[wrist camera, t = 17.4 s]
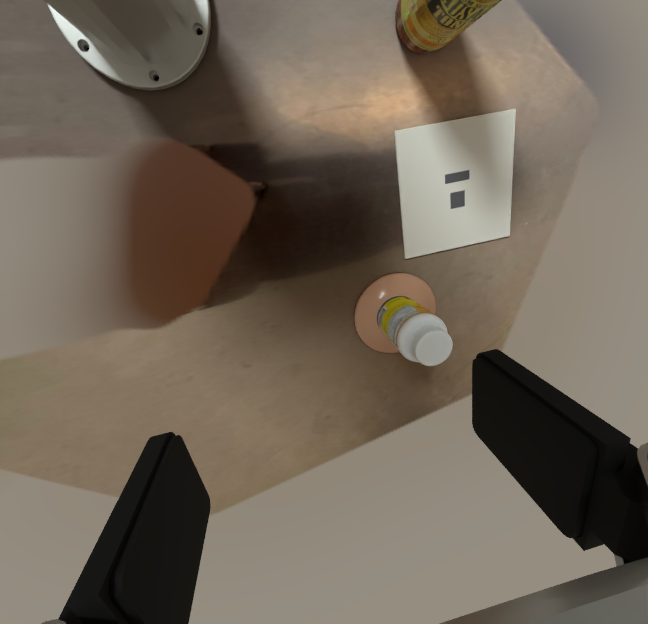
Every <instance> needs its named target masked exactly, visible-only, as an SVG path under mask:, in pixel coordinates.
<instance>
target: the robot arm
mask: <svg viewBox="0 0 648 624" xmlns="http://www.w3.org/2000/svg"><path fill="white" fill-rule="evenodd" d="M44 1H45V2H46V3H47V5H48V8H49V10H50V12H51V14H52V16H53V18H54V20H55V22H56V24H57V26H58V28H59V29H60V31H61V32H62V34H63V35H64V37H65V38H66V40H67V41H68V42H69V44H70V45H71V46H72V47H73V48H74V49H75V50H76V51H77V53H78V54H79V55H80V56H81V57H82V58H83V59H84V60H86V61H87V62H88V63H89V64H90V65H91V66H93V67H94V68H95V69H96V70H98V71H99V72H101V73H102V74H103V75H105V76H106V77H108V78H110V79H112V80H114V81H116V82H118V83H120V84H122V85H125V86H128V87H131V88H134V89H140V90H149V91H152V90H162V89H166V88H169V87H172V86H175V85H177V84H179V83H180V82H182V81H184V80H185V79H187V78H188V77H189V76H190V75H191V74H192V73H193V72H194V71H195V70H196V68H197V67H198V65H199V64H200V62H201V60H202V59H203V57H204V54H205V51H206V49H207V46H208V43H209V37H210V30H211V8H210V2H209V0H44ZM198 31H202V32H203V34H202V35H197V33H198ZM87 47H89V51H86V49H87ZM156 76H158V77H159V81H157V82H156V81H155V77H156ZM472 424H473V428H474V431H475V433H476V434H477V435H478V437H479V438H480V439H481V440H482V441H483V442H484V444H485V445H486V446H487V447H488V448H489V449H490V451H491V452H492V453H493V454H494V455H495V456H496V457H497V459H498V460H499V461H500V462H501V463H502V464H503V466H505V468H506V469H507V470H508V471H509V472H510V473H511V475H512V476H513V477H514V478H515V479H516V480H517V482H518V483H519V484H520V485H521V486H522V487H523V488H524V490H525V491H526V492H527V493H528V494H529V495H530V497H531V498H532V499H533V500H534V501H535V502H536V504H537V505H538V506H539V507H540V508H541V509H542V510H543V512H544V513H545V514H546V515H547V516H548V517H549V519H550V520H551V521H552V522H553V523H554V524H555V525H556V526H557V528H558V529H559V530H560V531H561V532H562V533H563V534H564V535H565V536H567V537H569V538H573V539H574V540H575V541H576V542H577V543H578V545H579V546H580V547H581V548H582V549H583V550H584V551H585V550H588V549H591V548H594V547H597V546H600V545H603V544H605V545H606V546H607V547H608V548H609V549H610V550H611V551H612V552H613V553H614V556H615V561H616V566H617V567H614V568H610V569H607V570H604V571H600V572H597V573H594V574H591V575H587V576H584V577H581V578H578V579H575V580H572V581H569V582H566V583H562V584H560V585H556V586H553V587H550V588H547V589H544V590H541V591H538V592H535V593H532V594H529V595H526V596H523V597H519V598H517V599H514V600H510V601H507V602H504V603H501V604H498V605H495V606H492V607H489V608H486V609H483V610H480V611H477V612H474V613H471V614H468V615H464V616H461V617H458V618H455V619H452V620H449V621H446V622H444V623H440V624H648V443H646V444H643V445H641V446H640V448H639V449H638V448H636V447H635V446H633V445H632V444H630V438H629V437H628V436H626V435H625V434H623V433H622V432H620V431H619V430H617V429H616V428H614V427H613V426H611V425H610V424H608V423H607V422H605V421H604V420H602V419H601V418H599V417H598V416H596V415H595V414H593V413H592V412H590V411H589V410H587V409H586V408H584V407H583V406H581V405H580V404H578V403H577V402H575V401H574V400H572V399H571V398H570V397H568V396H567V395H565V394H563V393H562V392H561V391H559V390H558V389H556V388H555V387H553V386H552V385H550V384H549V383H547V382H546V381H544V380H543V379H541V378H539V377H538V376H537V375H535V374H534V373H532V372H531V371H529V370H528V369H526V368H525V367H523V366H522V365H520V364H519V363H517V362H516V361H514V360H513V359H511V358H510V357H508V356H507V355H505V354H504V353H503V352H501V351H499V350H497V349H494V350H490V351H486V352H482V353H479V354H477V356H476V359H474V360H473V363H472ZM209 513H210V498H209V495H208V493H207V491H206V489H205V487H204V484H203V482H202V480H201V478H200V476H199V474H198V471H197V469H196V467H195V465H194V463H193V461H192V458H191V456H190V454H189V452H188V450H187V448H186V445H185V443H184V441H183V439H182V437H181V436H180V435H177V436H175V434H174V433H173V432H169V433H165V434H161V435H157V436H153V437H151V438H150V439H149V440H148V442H147V444H146V446H145V448H144V450H143V452H142V454H141V456H140V458H139V460H138V462H137V464H136V466H135V468H134V470H133V472H132V474H131V476H130V478H129V480H128V482H127V484H126V486H125V488H124V490H123V492H122V494H121V496H120V498H119V500H118V501H117V503H116V505H115V507H114V509H113V511H112V513H111V515H110V517H109V519H108V521H107V523H106V525H105V527H104V529H103V531H102V533H101V535H100V537H99V539H98V541H97V543H96V545H95V547H94V549H93V551H92V553H91V555H90V557H89V559H88V561H87V563H86V565H85V567H84V569H83V571H82V573H81V575H80V577H79V579H78V581H77V583H76V585H75V587H74V589H73V591H72V593H71V595H70V597H69V599H68V601H67V603H66V605H65V607H64V609H63V611H62V613H61V615H60V617H59V619H56V620H51V621H46V622H43V623H41V624H188V623H189V617H190V612H191V606H192V602H193V596H194V591H195V586H196V581H197V575H198V570H199V565H200V560H201V554H202V549H203V544H204V539H205V534H206V528H207V523H208V518H209Z"/></svg>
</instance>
